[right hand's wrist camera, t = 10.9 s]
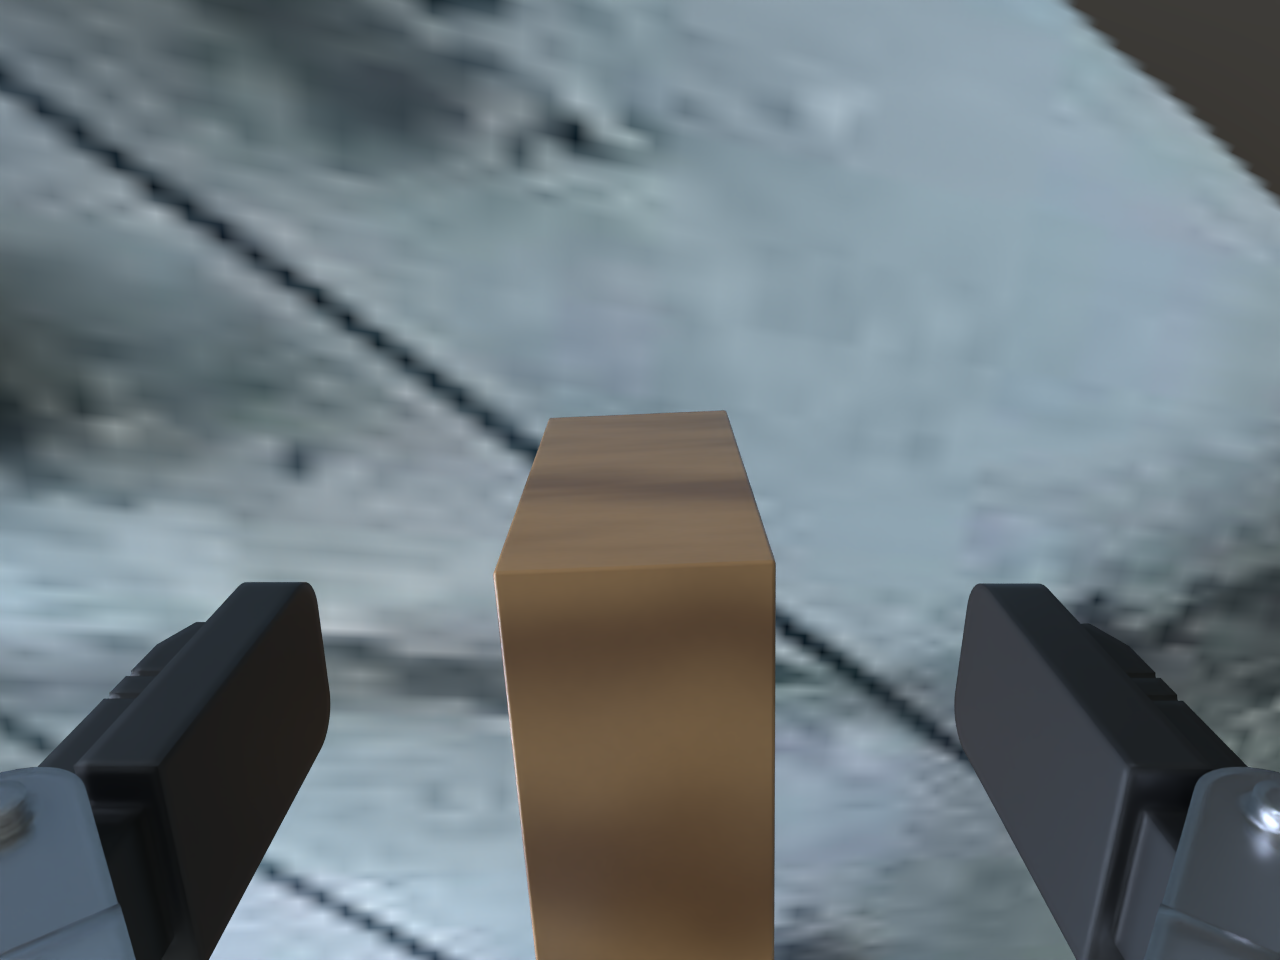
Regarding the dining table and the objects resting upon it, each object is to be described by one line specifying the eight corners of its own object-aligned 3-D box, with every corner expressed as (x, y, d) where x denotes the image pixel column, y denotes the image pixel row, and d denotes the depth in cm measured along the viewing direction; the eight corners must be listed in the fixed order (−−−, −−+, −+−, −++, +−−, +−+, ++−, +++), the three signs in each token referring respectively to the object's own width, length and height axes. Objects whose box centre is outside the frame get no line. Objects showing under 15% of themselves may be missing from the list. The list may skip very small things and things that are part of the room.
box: (548, 417, 30) (491, 572, 19) (726, 409, 30) (775, 560, 19) (599, 1027, 40) (581, 1375, 28) (735, 1023, 40) (772, 1371, 28)
